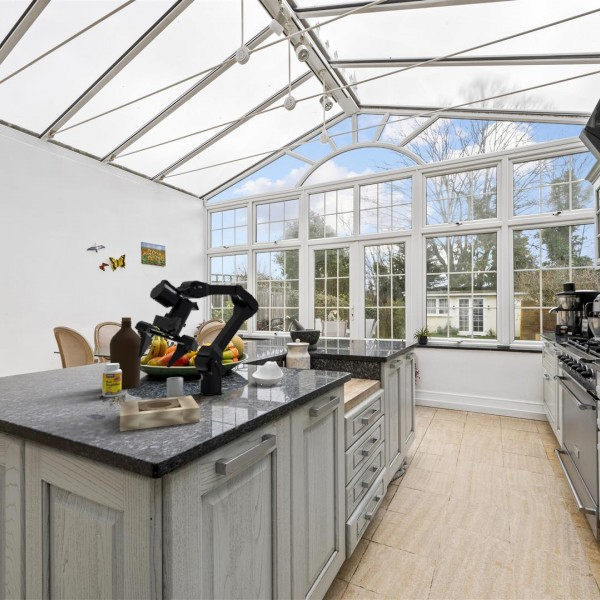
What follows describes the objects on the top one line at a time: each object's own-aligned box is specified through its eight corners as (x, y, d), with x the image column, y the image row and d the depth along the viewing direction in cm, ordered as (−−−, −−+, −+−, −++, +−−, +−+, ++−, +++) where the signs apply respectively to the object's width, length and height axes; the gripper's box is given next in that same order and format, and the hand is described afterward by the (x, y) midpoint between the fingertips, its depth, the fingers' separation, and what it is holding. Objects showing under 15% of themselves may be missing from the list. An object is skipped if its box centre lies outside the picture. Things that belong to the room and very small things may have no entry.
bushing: (181, 403, 111) (182, 376, 111) (183, 407, 107) (184, 378, 107) (165, 405, 109) (166, 377, 109) (167, 408, 105) (167, 379, 105)
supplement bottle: (103, 398, 117) (103, 365, 117) (101, 394, 122) (101, 363, 122) (122, 396, 120) (123, 364, 120) (120, 392, 125) (120, 362, 125)
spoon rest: (282, 388, 134) (282, 368, 134) (249, 387, 134) (249, 368, 134) (286, 376, 158) (286, 359, 158) (258, 376, 158) (258, 359, 158)
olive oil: (137, 389, 130) (137, 317, 130) (104, 390, 128) (105, 317, 129) (144, 383, 140) (145, 317, 141) (114, 384, 139) (115, 317, 139)
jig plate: (190, 407, 106) (191, 395, 106) (199, 421, 93) (199, 407, 93) (120, 415, 98) (121, 402, 99) (120, 431, 86) (120, 416, 86)
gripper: (141, 295, 109) (112, 343, 102) (199, 313, 106) (173, 363, 99) (154, 311, 119) (129, 356, 112) (208, 328, 116) (185, 375, 109)
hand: (153, 362), depth 108 cm, fingers open, 9 cm apart
